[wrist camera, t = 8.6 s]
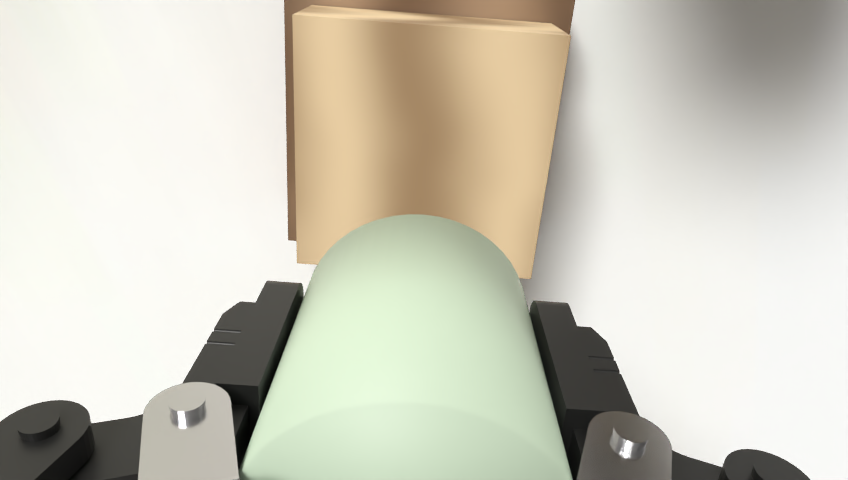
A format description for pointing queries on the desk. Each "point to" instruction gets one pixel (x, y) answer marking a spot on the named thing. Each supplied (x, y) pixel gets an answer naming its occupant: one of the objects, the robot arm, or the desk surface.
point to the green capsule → (410, 366)
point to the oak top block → (423, 123)
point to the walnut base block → (516, 3)
